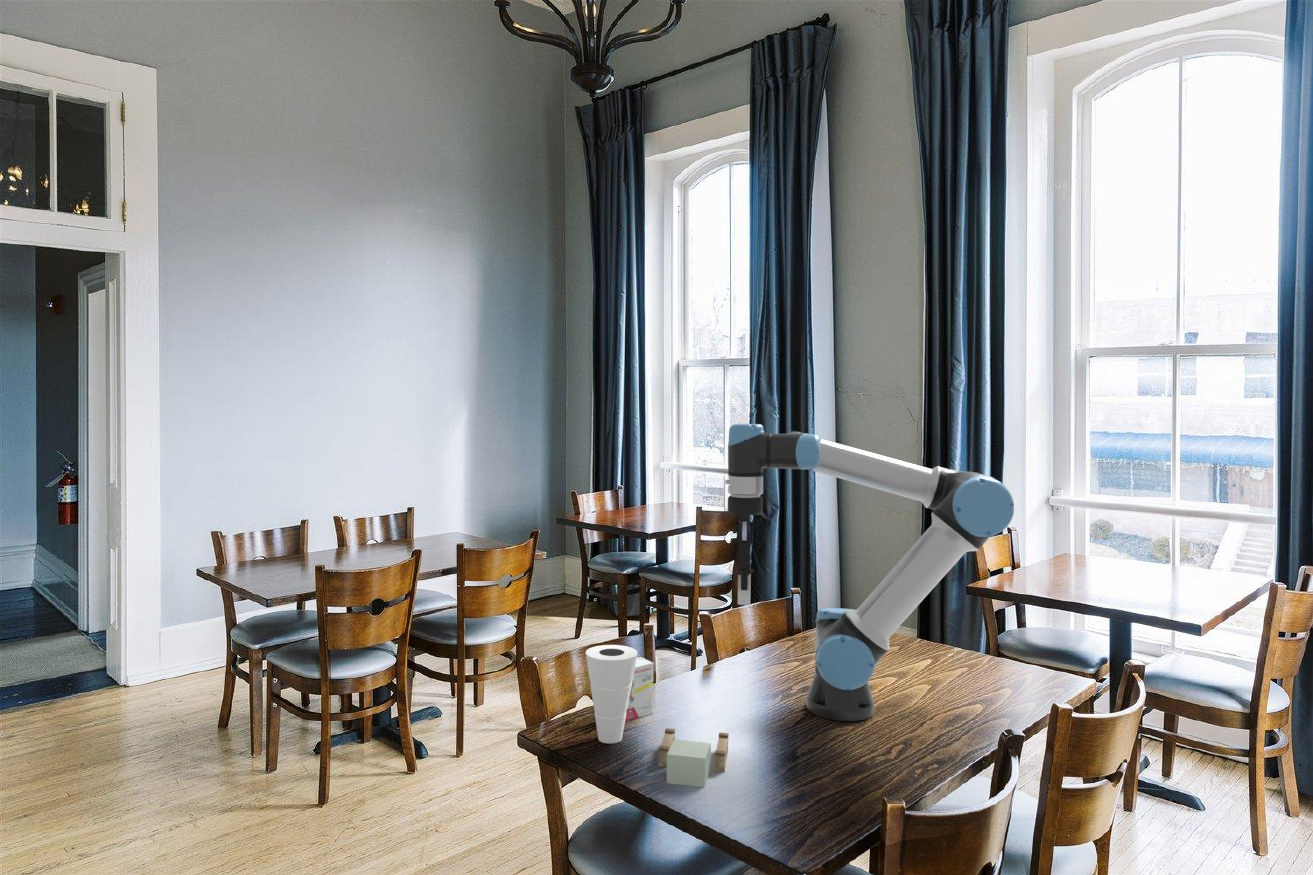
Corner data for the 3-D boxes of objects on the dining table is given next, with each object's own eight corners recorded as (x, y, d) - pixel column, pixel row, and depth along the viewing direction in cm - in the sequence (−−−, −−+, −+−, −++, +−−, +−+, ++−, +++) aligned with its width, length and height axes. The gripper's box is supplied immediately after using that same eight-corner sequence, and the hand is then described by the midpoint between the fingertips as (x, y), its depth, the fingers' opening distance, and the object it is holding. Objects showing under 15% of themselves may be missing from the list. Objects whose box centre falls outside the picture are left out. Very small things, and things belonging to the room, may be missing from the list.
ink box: (623, 722, 182) (624, 668, 182) (609, 715, 186) (610, 663, 185) (653, 714, 187) (654, 661, 187) (640, 707, 191) (641, 656, 191)
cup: (577, 732, 176) (578, 647, 175) (624, 725, 180) (626, 642, 179) (593, 752, 166) (595, 662, 165) (643, 744, 170) (645, 656, 170)
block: (710, 771, 159) (710, 743, 159) (704, 788, 152) (705, 758, 152) (673, 767, 160) (674, 739, 160) (666, 783, 154) (667, 754, 153)
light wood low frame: (728, 750, 168) (728, 733, 168) (724, 771, 159) (725, 753, 158) (665, 745, 170) (665, 728, 170) (658, 766, 160) (658, 747, 160)
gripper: (728, 492, 188) (727, 596, 189) (726, 498, 175) (725, 610, 176) (762, 492, 187) (761, 597, 188) (762, 499, 175) (761, 611, 175)
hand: (744, 603), depth 182 cm, fingers closed
